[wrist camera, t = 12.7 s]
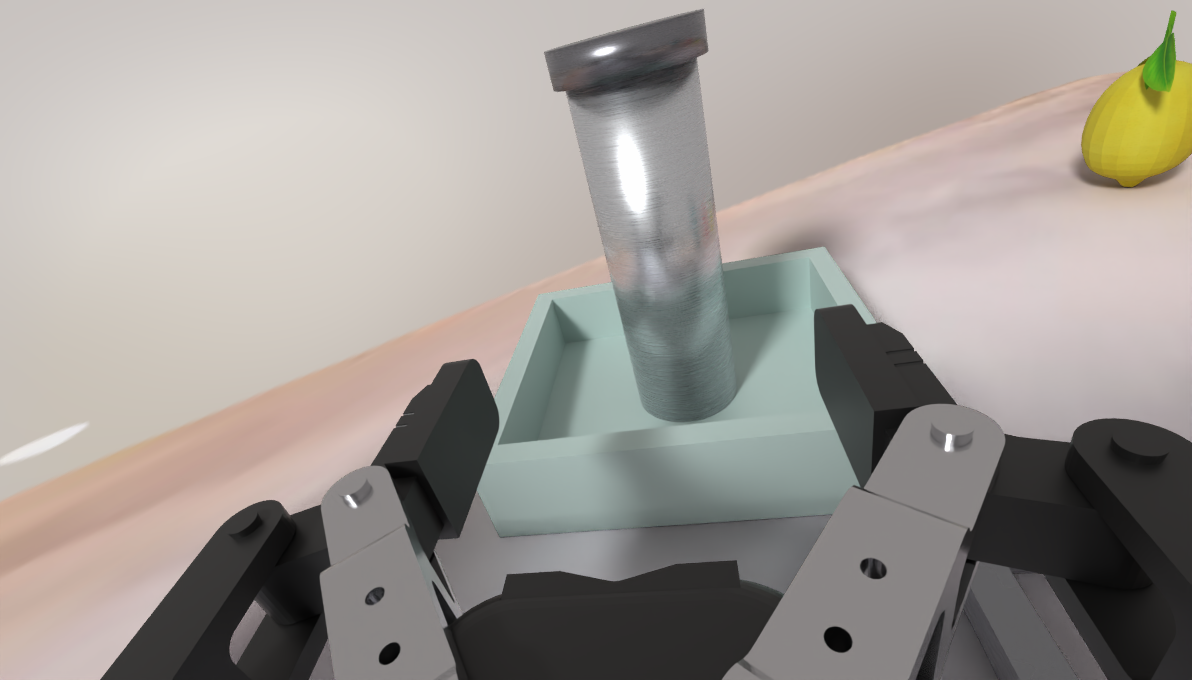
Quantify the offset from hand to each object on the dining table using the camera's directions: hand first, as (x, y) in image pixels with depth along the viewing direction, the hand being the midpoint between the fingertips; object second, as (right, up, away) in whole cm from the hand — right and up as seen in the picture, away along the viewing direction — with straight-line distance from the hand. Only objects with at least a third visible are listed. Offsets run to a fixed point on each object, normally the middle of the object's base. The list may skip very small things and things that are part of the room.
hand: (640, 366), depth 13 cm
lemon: (+33, +10, +22) cm, 41 cm away
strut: (+3, -2, +13) cm, 13 cm away
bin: (+4, -3, +13) cm, 14 cm away
